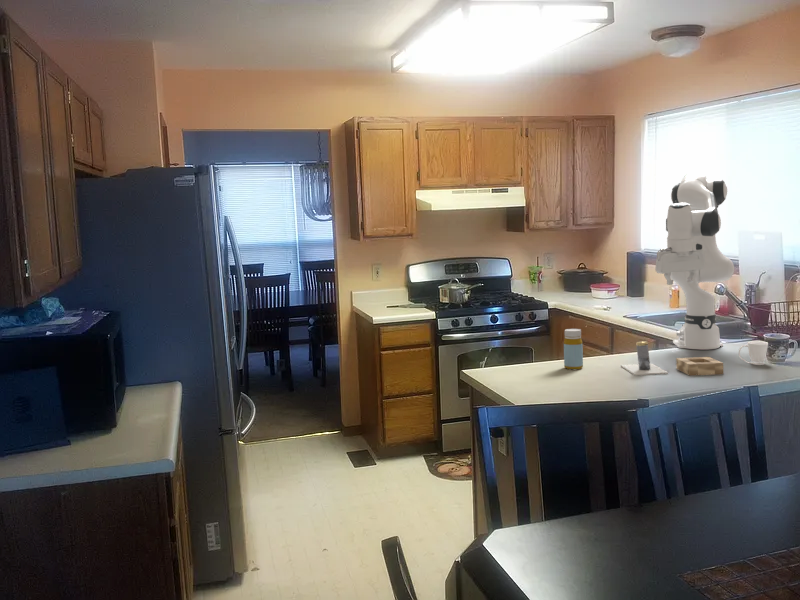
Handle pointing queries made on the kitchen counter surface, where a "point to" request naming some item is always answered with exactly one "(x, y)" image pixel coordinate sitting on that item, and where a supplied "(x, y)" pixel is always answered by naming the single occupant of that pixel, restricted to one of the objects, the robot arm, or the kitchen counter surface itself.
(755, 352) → the cup
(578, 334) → the bottle
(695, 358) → the block
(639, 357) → the peg
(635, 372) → the mat
